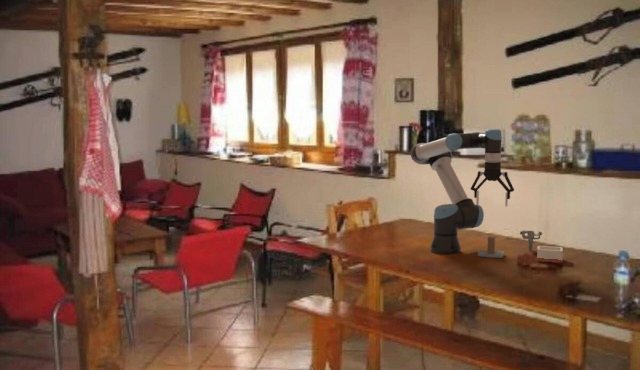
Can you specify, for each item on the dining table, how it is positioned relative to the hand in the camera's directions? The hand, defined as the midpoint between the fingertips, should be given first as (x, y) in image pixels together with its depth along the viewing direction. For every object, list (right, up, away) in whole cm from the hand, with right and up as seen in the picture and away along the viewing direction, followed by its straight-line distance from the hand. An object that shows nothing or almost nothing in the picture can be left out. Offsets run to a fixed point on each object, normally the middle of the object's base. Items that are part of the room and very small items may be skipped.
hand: (491, 205), depth 310 cm
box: (+25, -26, -8) cm, 37 cm away
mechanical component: (+23, -24, +13) cm, 35 cm away
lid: (0, -24, +3) cm, 25 cm away
